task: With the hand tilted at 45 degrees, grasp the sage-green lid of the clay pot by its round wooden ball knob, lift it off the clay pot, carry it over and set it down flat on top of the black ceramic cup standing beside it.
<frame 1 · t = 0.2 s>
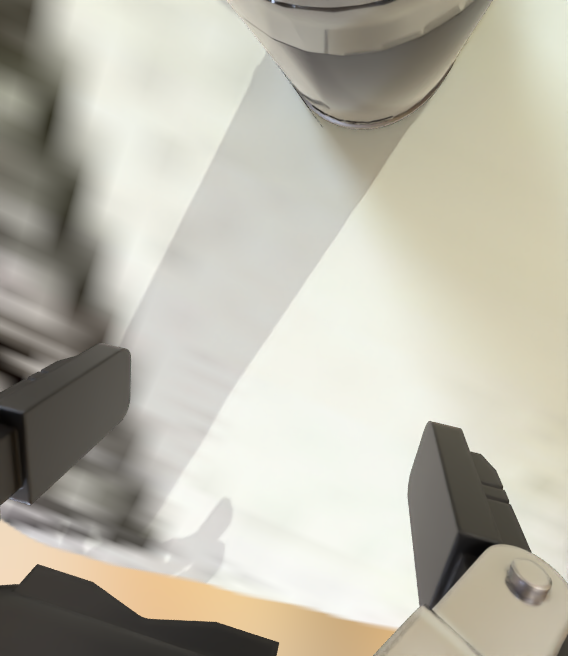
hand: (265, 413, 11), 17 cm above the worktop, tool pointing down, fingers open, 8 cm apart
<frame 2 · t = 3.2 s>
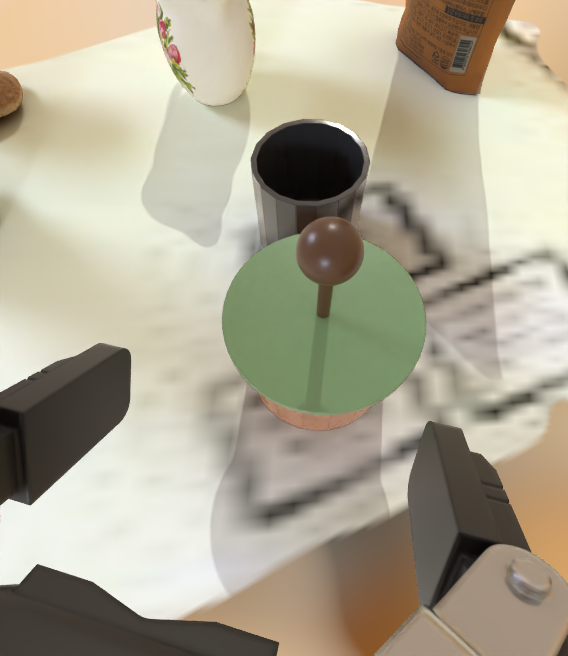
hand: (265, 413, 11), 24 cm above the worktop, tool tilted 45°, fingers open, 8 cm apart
lid: (322, 316, 29), point 9 cm above the worktop, touching clay pot
clay pot: (317, 364, 37), on the worktop
pitcher: (215, 86, 55), on the worktop
pancake mix bag: (429, 65, 55), on the worktop
cup: (307, 235, 44), on the worktop
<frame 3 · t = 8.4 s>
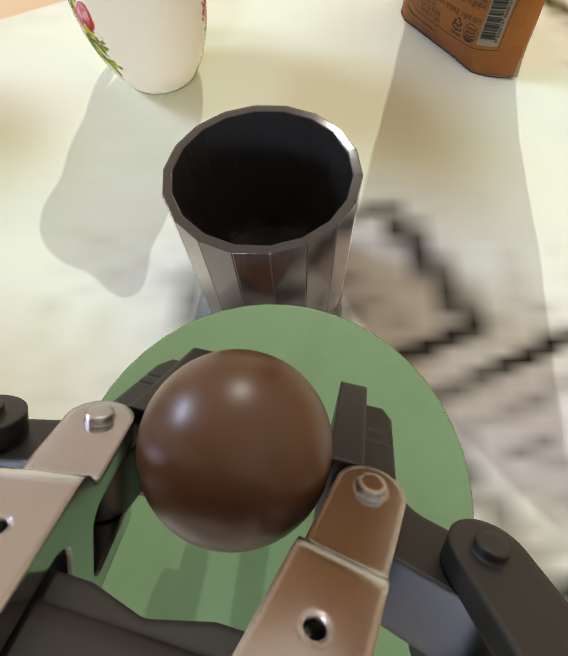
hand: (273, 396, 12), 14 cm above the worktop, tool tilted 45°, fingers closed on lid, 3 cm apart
lid: (266, 482, 15), point 9 cm above the worktop, touching gripper, clay pot
pitcher: (159, 68, 41), on the worktop
pancake mix bag: (446, 40, 41), on the worktop
cup: (273, 280, 29), on the worktop
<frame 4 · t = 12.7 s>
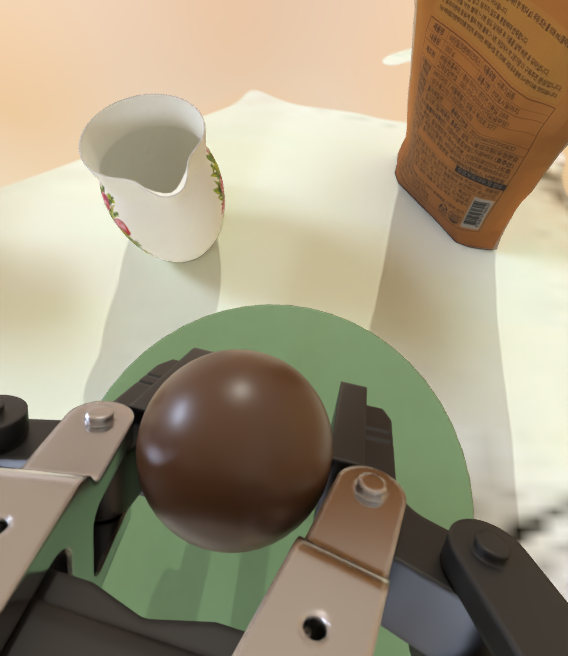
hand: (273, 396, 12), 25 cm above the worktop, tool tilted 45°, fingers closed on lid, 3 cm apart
lid: (266, 483, 15), point 21 cm above the worktop, touching gripper
pitcher: (181, 232, 46), on the worktop
pancake mix bag: (435, 205, 46), on the worktop
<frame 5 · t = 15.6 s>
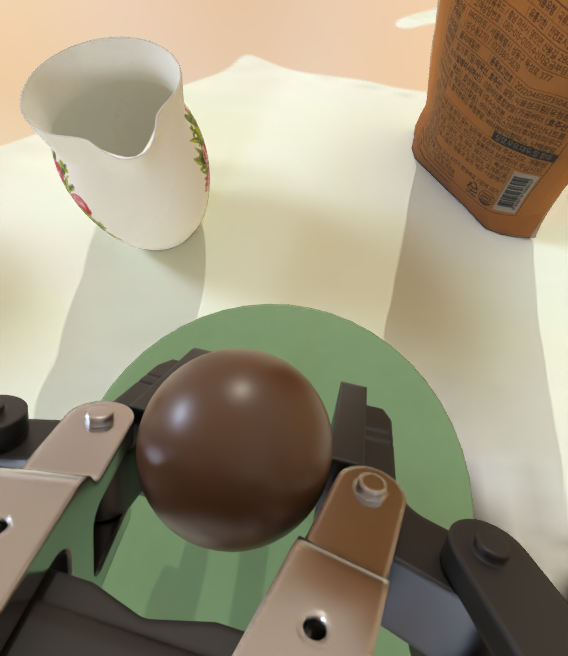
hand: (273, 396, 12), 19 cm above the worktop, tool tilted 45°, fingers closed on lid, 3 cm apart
lid: (266, 482, 15), point 15 cm above the worktop, touching gripper
pitcher: (159, 215, 39), on the worktop
pancake mix bag: (459, 185, 39), on the worktop
when the fingers open (15 cm above the worktop, at t = 17.4 s): lid stays where it is, resting on cup.
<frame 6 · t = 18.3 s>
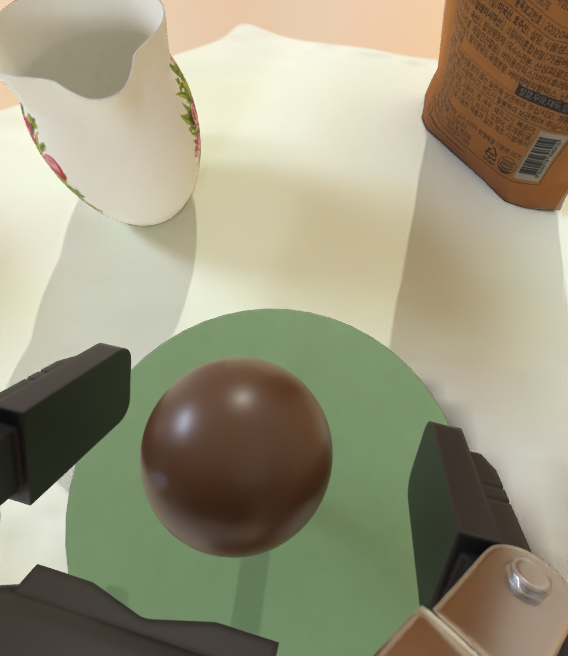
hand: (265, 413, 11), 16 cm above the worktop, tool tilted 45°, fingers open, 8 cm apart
lid: (267, 486, 15), point 11 cm above the worktop, touching cup
pitcher: (147, 189, 36), on the worktop
pancake mix bag: (475, 156, 36), on the worktop
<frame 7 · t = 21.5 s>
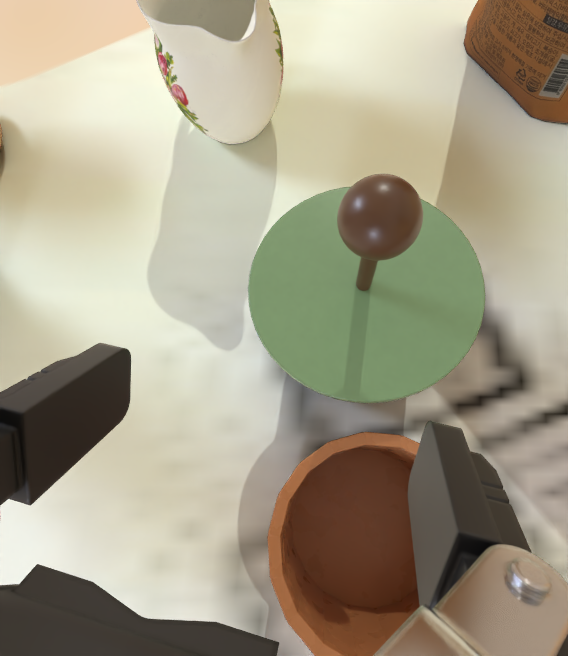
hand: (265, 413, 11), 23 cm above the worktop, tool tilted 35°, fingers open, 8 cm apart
lid: (362, 288, 25), point 11 cm above the worktop, touching cup
clay pot: (362, 523, 31), on the worktop
pitcher: (233, 113, 44), on the worktop
pancake mix bag: (508, 77, 42), on the worktop
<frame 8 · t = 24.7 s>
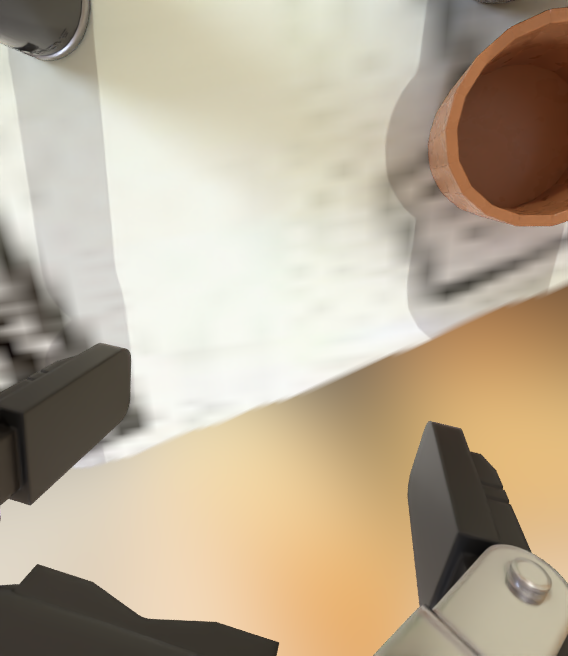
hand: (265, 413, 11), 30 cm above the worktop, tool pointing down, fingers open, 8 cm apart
clay pot: (504, 140, 34), on the worktop
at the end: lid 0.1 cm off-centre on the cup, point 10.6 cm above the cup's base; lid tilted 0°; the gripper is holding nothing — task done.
